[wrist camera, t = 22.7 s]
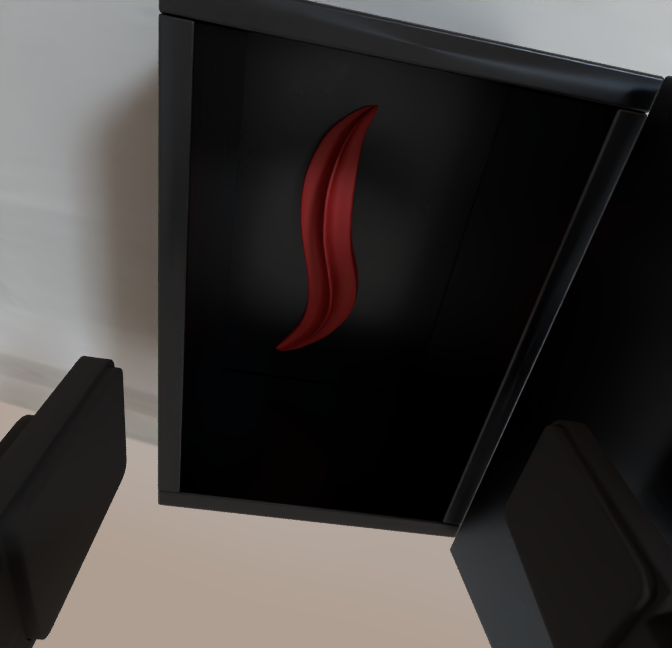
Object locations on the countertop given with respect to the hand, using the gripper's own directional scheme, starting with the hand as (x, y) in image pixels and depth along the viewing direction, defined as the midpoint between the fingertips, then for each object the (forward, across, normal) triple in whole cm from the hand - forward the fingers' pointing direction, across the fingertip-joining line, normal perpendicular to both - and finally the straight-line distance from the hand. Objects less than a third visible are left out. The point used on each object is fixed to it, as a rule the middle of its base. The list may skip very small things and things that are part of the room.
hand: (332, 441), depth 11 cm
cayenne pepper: (+13, 0, 0) cm, 13 cm away
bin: (+13, -1, 0) cm, 13 cm away
